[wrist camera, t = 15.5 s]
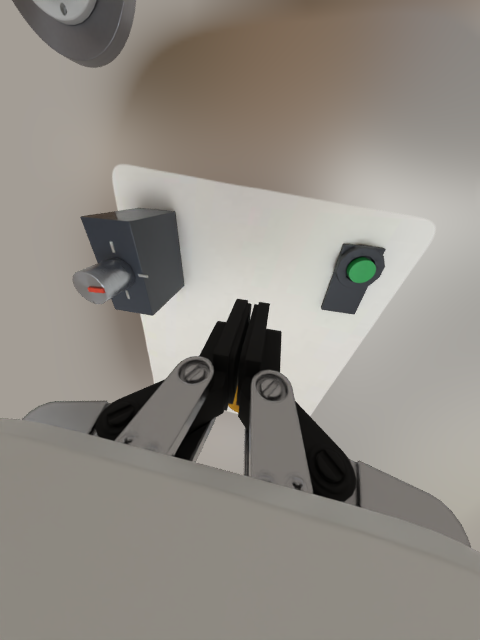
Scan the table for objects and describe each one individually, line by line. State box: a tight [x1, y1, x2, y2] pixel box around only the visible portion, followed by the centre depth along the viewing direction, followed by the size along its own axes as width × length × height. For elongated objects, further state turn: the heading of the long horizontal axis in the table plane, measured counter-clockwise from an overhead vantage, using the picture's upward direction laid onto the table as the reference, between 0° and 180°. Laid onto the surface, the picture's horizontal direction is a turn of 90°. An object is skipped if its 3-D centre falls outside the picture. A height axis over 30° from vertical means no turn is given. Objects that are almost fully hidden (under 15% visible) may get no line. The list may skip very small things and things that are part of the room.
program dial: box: [73, 258, 135, 304], centre depth 26 cm, size 4×4×6 cm
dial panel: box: [81, 208, 184, 315], centre depth 33 cm, size 14×9×12 cm, turn 177°
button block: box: [321, 244, 385, 314], centre depth 33 cm, size 12×6×2 cm, turn 177°
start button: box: [347, 257, 376, 283], centre depth 30 cm, size 4×4×2 cm
